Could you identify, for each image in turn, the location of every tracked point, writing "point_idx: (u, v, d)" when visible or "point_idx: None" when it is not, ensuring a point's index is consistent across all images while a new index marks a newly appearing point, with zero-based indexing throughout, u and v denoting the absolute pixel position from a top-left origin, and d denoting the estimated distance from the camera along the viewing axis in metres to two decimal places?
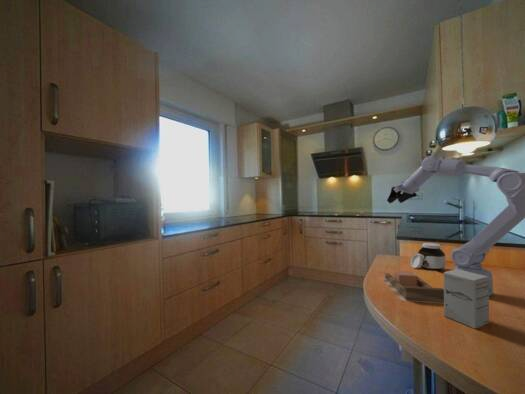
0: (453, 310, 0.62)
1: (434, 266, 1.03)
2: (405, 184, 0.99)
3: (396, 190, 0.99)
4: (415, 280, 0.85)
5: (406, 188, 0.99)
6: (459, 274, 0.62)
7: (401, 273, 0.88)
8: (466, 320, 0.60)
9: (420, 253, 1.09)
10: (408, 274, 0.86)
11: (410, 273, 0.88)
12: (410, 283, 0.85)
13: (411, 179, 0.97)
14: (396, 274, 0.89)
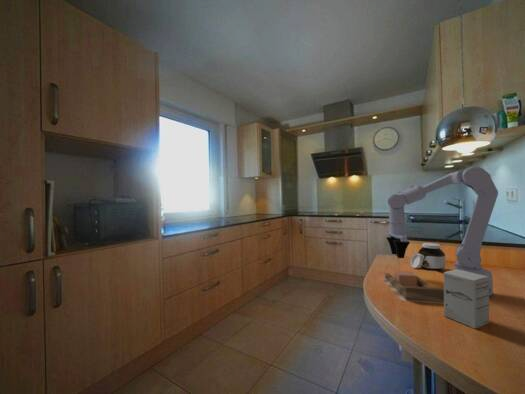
0: (453, 310, 0.62)
1: (434, 266, 1.03)
2: (397, 231, 0.93)
3: (405, 239, 0.88)
4: (415, 280, 0.85)
5: (401, 233, 0.92)
6: (459, 274, 0.62)
7: (401, 273, 0.88)
8: (466, 320, 0.60)
9: (420, 253, 1.09)
10: (408, 274, 0.86)
11: (410, 273, 0.88)
12: (410, 283, 0.85)
13: (398, 223, 0.93)
14: (396, 274, 0.89)
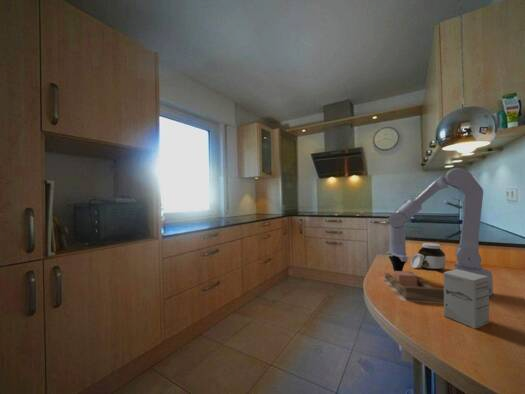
0: (453, 310, 0.62)
1: (434, 266, 1.03)
2: (397, 250, 0.93)
3: (405, 259, 0.88)
4: (415, 280, 0.85)
5: (402, 252, 0.92)
6: (459, 274, 0.62)
7: (401, 273, 0.88)
8: (466, 320, 0.60)
9: (420, 253, 1.09)
10: (408, 274, 0.86)
11: (410, 273, 0.88)
12: (410, 283, 0.85)
13: (398, 242, 0.93)
14: (396, 274, 0.89)
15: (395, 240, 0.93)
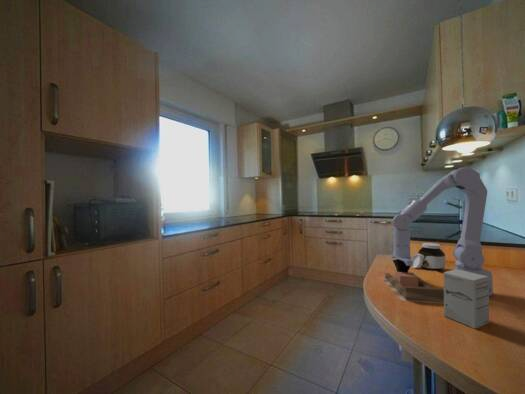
0: (453, 310, 0.62)
1: (434, 266, 1.03)
2: (402, 254, 0.88)
3: (411, 263, 0.84)
4: (416, 281, 0.84)
5: (406, 256, 0.88)
6: (459, 274, 0.62)
7: (402, 274, 0.87)
8: (466, 320, 0.60)
9: (420, 253, 1.09)
10: (409, 275, 0.85)
11: (411, 274, 0.86)
12: (411, 284, 0.84)
13: (403, 245, 0.88)
14: (397, 274, 0.87)
15: (401, 243, 0.88)
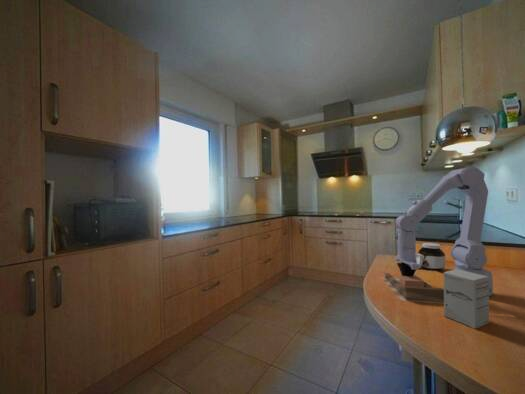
0: (453, 310, 0.62)
1: (434, 266, 1.03)
2: (407, 257, 0.84)
3: (416, 267, 0.79)
4: (422, 286, 0.79)
5: (412, 259, 0.83)
6: (459, 274, 0.62)
7: (407, 278, 0.82)
8: (466, 320, 0.60)
9: (420, 253, 1.09)
10: (414, 280, 0.80)
11: (417, 278, 0.82)
12: None
13: (408, 248, 0.84)
14: (402, 279, 0.83)
15: (408, 246, 0.84)
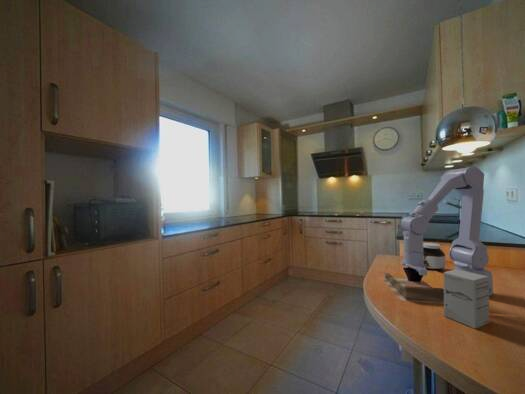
0: (453, 310, 0.62)
1: (434, 266, 1.03)
2: (414, 261, 0.78)
3: (425, 273, 0.73)
4: None
5: (419, 264, 0.78)
6: (459, 274, 0.62)
7: (414, 284, 0.76)
8: (466, 320, 0.60)
9: None
10: (421, 286, 0.75)
11: (424, 284, 0.76)
12: None
13: (415, 251, 0.78)
14: (408, 285, 0.77)
15: (418, 249, 0.78)
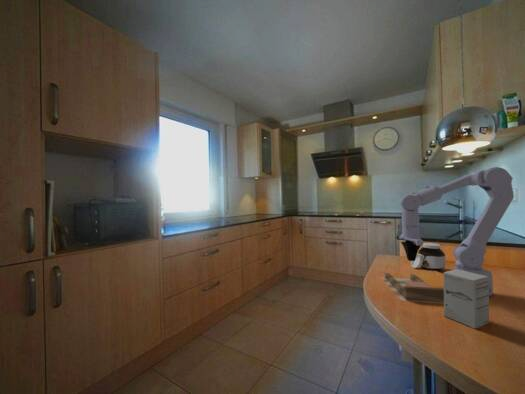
0: (453, 310, 0.62)
1: (434, 266, 1.03)
2: (411, 234, 0.87)
3: (421, 243, 0.83)
4: None
5: (416, 237, 0.87)
6: (459, 274, 0.62)
7: (414, 284, 0.76)
8: (466, 320, 0.60)
9: (420, 253, 1.09)
10: (421, 286, 0.75)
11: (424, 284, 0.76)
12: None
13: (412, 226, 0.87)
14: (408, 285, 0.77)
15: (410, 224, 0.88)
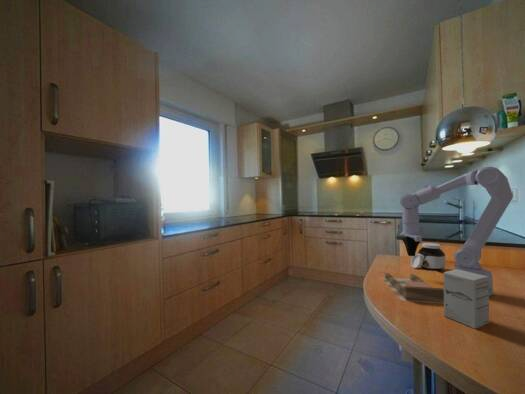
0: (453, 310, 0.62)
1: (434, 266, 1.03)
2: (411, 231, 0.93)
3: (420, 239, 0.88)
4: None
5: (415, 233, 0.93)
6: (459, 274, 0.62)
7: (414, 284, 0.76)
8: (466, 320, 0.60)
9: (420, 253, 1.09)
10: (421, 286, 0.75)
11: (424, 284, 0.76)
12: None
13: (412, 223, 0.93)
14: (408, 285, 0.77)
15: (407, 221, 0.94)
